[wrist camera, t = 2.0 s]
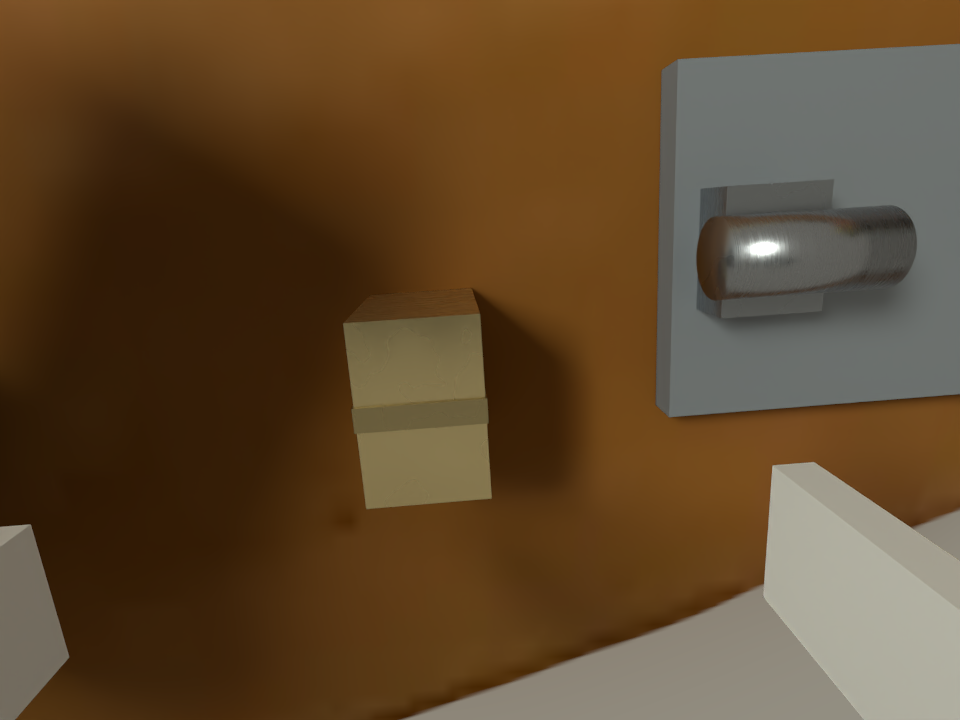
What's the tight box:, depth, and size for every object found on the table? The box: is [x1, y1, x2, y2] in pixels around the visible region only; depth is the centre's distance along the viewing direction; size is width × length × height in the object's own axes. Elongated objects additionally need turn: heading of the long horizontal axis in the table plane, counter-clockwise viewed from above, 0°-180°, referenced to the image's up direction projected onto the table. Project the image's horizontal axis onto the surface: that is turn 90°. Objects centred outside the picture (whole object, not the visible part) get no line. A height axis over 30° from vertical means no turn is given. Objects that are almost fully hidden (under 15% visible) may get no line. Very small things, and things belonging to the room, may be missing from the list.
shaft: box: [696, 179, 917, 318], centre depth 19 cm, size 6×4×5 cm
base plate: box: [656, 44, 960, 417], centre depth 22 cm, size 22×13×2 cm, turn 94°
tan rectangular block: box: [343, 288, 492, 509], centre depth 20 cm, size 6×4×6 cm
